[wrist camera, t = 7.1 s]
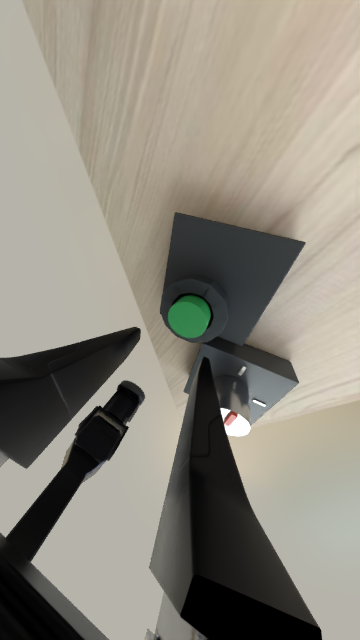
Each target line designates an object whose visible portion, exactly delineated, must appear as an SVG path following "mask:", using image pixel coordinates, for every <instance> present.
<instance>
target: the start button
mask: <svg viewBox="0 0 360 640" xmlns="http://www.w3.org/2000/svg"><path fill="white" fill-rule="evenodd" d="M210 317H211V311H210V308H209V306H208V304H207V303H206V302H205V301H204V300H203V299H202V298H200V297H198V296H195V295H187V296H184V297H182V298H180V299H179V300H178V301H177V302H176V303H175V304H174V305H173V306H172V307H171V308H170V310H169V313H168V321H169V324H170V326H171V328H172V329H173V330H174V331H175V332H176V333H177V334H179V335H180V336H183V337H186V338H196V337H198V336H200V335H202V334H203V333H204V332H205V330H206V328H207V325H208V323H209V320H210Z"/></svg>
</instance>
